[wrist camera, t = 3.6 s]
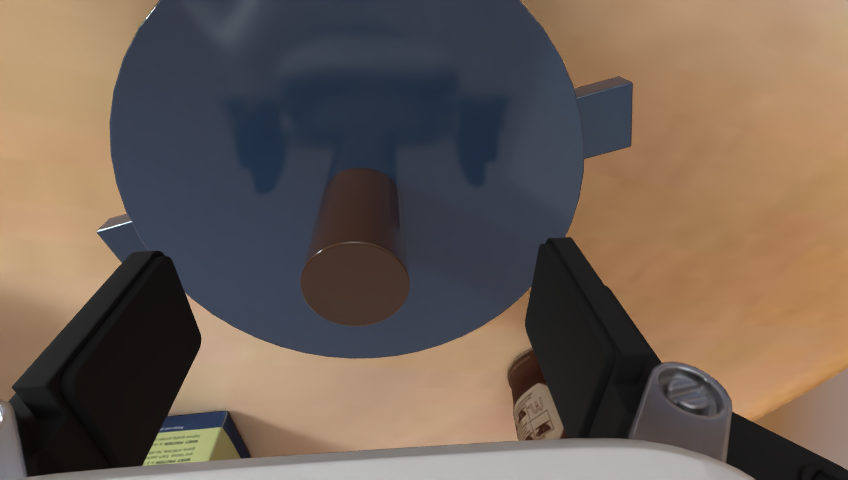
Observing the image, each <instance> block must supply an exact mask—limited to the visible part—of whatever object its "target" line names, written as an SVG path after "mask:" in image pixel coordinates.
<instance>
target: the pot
mask: <svg viewBox="0 0 848 480" xmlns="http://www.w3.org/2000/svg"><path fill="white" fill-rule="evenodd" d="M574 90H575V94H576V98H577V102H578V105H579V109H580V113H581V119H582V128H583V136H584V159H586V158H589V157H593V156H597V155H601V154H604V153H608V152H612V151H616V150H619V149H623V148H627V147H630V146H631V134H632V93H633V83H632V82H631V81H629V80H626V79H624V78H622V77H620V76H618V77H615V78H611V79H607V80H604V81H600V82H597V83H593V84H590V85H586V86H582V87H579V88H575V89H574ZM97 234H98V235H99V236H100V237H101V238H102V240H103V241H104V242H105V243H106V244H107V246H108V247H109V248H110V249H111V250H112V252H113V253H114V254H115V255H116V256H117V258H118V259H119V260H120V261H121V263H123V262H124V261H125V259H126V258H127V257H128V256H129V255H130V254H131V253H132V252H136V251H148V249H147V248H146V247H145V245H144V244H143V242H142V241H141V239H140V238H139V236H138V234H137V232H136V230H135V228H134V226H133V224H132V222H131V220H130V218H129V216H128V214H124V215H121V216H117V217H114V218H110V219H109V220H108V221H107V222H106V223H105V224H103V225H102V226H101V227H100V228H99V229H98V230H97Z"/></svg>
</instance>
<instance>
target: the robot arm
mask: <svg viewBox="0 0 848 480" xmlns="http://www.w3.org/2000/svg"><path fill="white" fill-rule="evenodd" d="M525 327H526V332H527V335H528V337H529V340H530V342H531V345H532V348H533V350H534V353H535V355H536V358H537V360H538V363H539V366H540V368H541V371H542V373H543V376H544V378H545V381H546V384H547V386H548V389H549V391H550V394H551V396H552V399H553V402H554V404H555V407H556V409H557V412H558V414H559V417H560V420H561V422H562V425H563V427H564V430H565V433H566V435H567V438H568V439H549V440H527V441H506V442H490V443H473V444H457V445H441V446H425V447H408V448H393V449H377V450H362V451H347V452H332V453H317V454H302V455H288V456H273V457H258V458H244V459H230V460H217V461H203V462H189V463H175V464H161V465H147V466H142V465H143V463H144V461H145V459H146V457H147V455H148V453H149V451H150V449H151V447H152V445H153V443H154V441H155V439H156V437H157V435H158V433H159V431H160V428H161V426H162V424H163V422H164V420H165V418H166V416H167V414H168V412H169V410H170V408H171V406H172V404H173V402H174V400H175V398H176V396H177V394H178V392H179V390H180V388H181V386H182V383H183V381H184V379H185V377H186V375H187V373H188V371H189V369H190V367H191V365H192V363H193V361H194V359H195V357H196V355H197V353H198V351H199V348H200V345H201V334H200V331H199V329H198V326H197V323H196V321H195V318H194V315H193V313H192V310H191V308H190V305H189V302H188V300H187V297H186V294H185V292H184V289H183V287H182V284H181V281H180V279H179V276H178V273H177V271H176V268H175V266H174V263H173V261H172V259H171V258H170V257H168V256H165V255H164V254H163V253H162V252H161V251H136V252H132V253H131V254H130V255H129V256H128V257H127V258H126V259H125V261H124V262H123V263H122V264H121V265H120V266H119V267H118V268H117V269H116V271H115V272H114V273H113V274H112V275H111V276H110V277H109V278H108V280H107V281H106V282H105V283H104V284H103V285H102V286H101V287H100V289H99V290H98V291H97V292H96V293H95V294H94V295H93V296H92V297H91V299H90V300H89V301H88V302H87V303H86V304H85V305H84V306H83V308H82V309H81V310H80V311H79V312H78V313H77V314H76V315H75V317H74V318H73V319H72V320H71V321H70V322H69V323H68V324H67V325H66V327H65V328H64V329H63V330H62V331H61V332H60V333H59V334H58V336H57V337H56V338H55V339H54V340H53V341H52V342H51V343H50V345H49V346H48V347H47V348H46V349H45V350H44V351H43V352H42V353H41V355H40V356H39V357H38V358H37V359H36V360H35V361H34V362H33V364H32V365H31V366H30V367H29V368H28V369H27V370H26V371H25V373H24V374H23V375H22V376H21V377H20V378H19V379H18V380H17V381H16V383H15V384H14V385H13V386H12V388H13V390H14V391H15V392H16V393H15V395H14V396H13V397H12V398H11V399H10V400H9V402H7V401H4V400H2V399H0V480H848V471H847V470H846V469H844V468H843V467H841V466H839V465H837V464H835V463H833V462H831V461H829V460H827V459H825V458H823V457H821V456H819V455H817V454H815V453H813V452H811V451H809V450H807V449H805V448H803V447H801V446H799V445H797V444H795V443H793V442H791V441H789V440H787V439H785V438H783V437H781V436H779V435H777V434H775V433H773V432H771V431H769V430H767V429H765V428H763V427H761V426H759V425H757V424H755V423H753V422H751V421H749V420H748V419H746V418H744V417H742V416H740V415H738V414H736V413H734V412H732V403H731V399H730V397H729V395H728V393H727V392H726V390H725V389H724V388H723V387H722V386H721V385H720V383H719V382H718V381H717V380H715V379H714V378H713V377H711V376H710V375H709V374H707V373H705V372H704V371H702V370H700V369H698V368H696V367H693V366H690V365H687V364H684V363H678V362H665V363H661V361H660V360H659V358H658V357H657V355H656V354H655V353H654V351H653V350H652V348H651V347H650V345H649V344H648V343H647V341H646V340H645V338H644V337H643V335H642V334H641V333H640V331H639V330H638V328H637V327H636V325H635V324H634V323H633V321H632V320H631V318H630V317H629V316H628V314H627V313H626V311H625V310H624V308H623V307H622V306H621V304H620V303H619V301H618V300H617V298H616V297H615V296H614V294H613V293H612V291H611V290H610V289H609V288H608V287H607V286H605V285H604V284H603V282H602V281H601V280H600V278H599V277H598V275H597V274H596V272H595V271H594V269H593V268H592V267H591V265H590V264H589V262H588V261H587V259H586V258H585V256H584V255H583V254H582V252H581V251H580V249H579V248H578V246H577V245H576V243H575V242H574V241H573V239H572V238H569V237H565V238H548V239H547V241H546V243H545V244H540V246H539V250H538V255H537V260H536V266H535V271H534V276H533V281H532V287H531V292H530V297H529V303H528V308H527V313H526V318H525Z"/></svg>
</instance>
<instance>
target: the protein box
mask: <svg viewBox="0 0 848 480" xmlns="http://www.w3.org/2000/svg"><path fill="white" fill-rule="evenodd" d="M244 458H251V457H250V455H249V453H248V451H247V449H246V447H245V445H244V443H243V441H242V439H241V437H240V435H239V433H238V431H237V429H236V427H235V425H234V423H233V421H232V419H231V417H230V415H229V413H228V411H220V412H209V413H199V414H189V415H179V416H169V417H166V418H165V420H164V422H163V424H162V426H161V428H160V431H159V433H158V435H157V437H156V439H155V441H154V443H153V445H152V447H151V449H150V451H149V453H148V455H147V457H146V459H145V461H144V463H143V465H142V466H147V465H161V464H175V463H189V462H203V461H217V460H230V459H244Z"/></svg>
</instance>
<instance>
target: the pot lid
mask: <svg viewBox="0 0 848 480" xmlns="http://www.w3.org/2000/svg"><path fill="white" fill-rule="evenodd" d="M110 147H111V158H112V163H113V168H114V173H115V178H116V184H117V187H118V189H119V192H120V195H121V198H122V201H123V204H124V207H125V210H126V212H127V214H128V216H129V218H130V220H131V222H132V224H133V226H134V228H135V230H136V232H137V234H138V236H139V238H140V239H141V241H142V242H143V244H144V245H145V247H146V248H147V249H148V251H161V252H162V253H163V254H164V255H165V256H168V257H170V258H171V259H172V261H173V263H174V266H175V268H176V271H177V273H178V276H179V279H180V281H181V284H182V287H183V289H184V292H185V293H186V294H187V295H188V296H190V297H191V298H192V299H193V300H194V301H196V302H197V303H198V304H200V305H201V306H202V307H204V308H205V309H206V310H208V311H209V312H210V313H212V314H213V315H215V316H216V317H218V318H220V319H221V320H223V321H225V322H226V323H228V324H230V325H231V326H233V327H235V328H237V329H239V330H241V331H243V332H245V333H247V334H250V335H252V336H254V337H256V338H258V339H261V340H264V341H266V342H269V343H272V344H275V345H277V346H280V347H284V348H288V349H292V350H295V351H299V352H303V353H308V354H314V355H320V356H326V357H338V358H380V357H390V356H398V355H403V354H408V353H413V352H418V351H422V350H425V349H429V348H432V347H436V346H439V345H442V344H444V343H447V342H449V341H452V340H454V339H457V338H459V337H462V336H464V335H466V334H468V333H470V332H472V331H473V330H475V329H477V328H479V327H481V326H483V325H484V324H486V323H487V322H489V321H491V320H492V319H494V318H495V317H497V316H498V315H500V314H501V313H502V312H504V311H505V310H506V309H507V308H509V307H510V306H511V305H512V304H513V303H515V302H516V301H517V300H518V299H519V298H520V297H521V296H522V295H523V294H524V293H525V292H526V291H527V290H528V289H529V288H530V287H531V286H532V281H533V276H534V271H535V266H536V260H537V255H538V250H539V246H540V244H545V243H546V241H547V239H548V238H565V236H566V234H567V231H568V229H569V227H570V225H571V223H572V220H573V216H574V213H575V210H576V207H577V203H578V200H579V196H580V190H581V184H582V178H583V172H584V136H583V128H582V119H581V113H580V109H579V105H578V102H577V98H576V94H575V90H574V86H573V84H572V82H571V79H570V77H569V75H568V72H567V70H566V68H565V65H564V63H563V61H562V58H561V56H560V54H559V53H558V51H557V50H556V48H555V46H554V45H553V43H552V42H551V40H550V38H549V37H548V35H547V33H546V32H545V30H544V29H543V27H542V26H541V25H540V24H539V22H538V21H537V20H536V19H535V18H534V17H533V15H532V14H531V13H530V12H529V11H528V9H527V8H526V7H525V6H524V5H523V4H522V2H521V1H520V0H159V1H158V3H157V4H156V5H155V7H154V8H153V9H152V11H151V12H150V13H149V15H148V16H147V17H146V19H145V20H144V21H143V22H142V24H141V25H140V26H139V28H138V30H137V32H136V34H135V36H134V38H133V40H132V42H131V44H130V46H129V48H128V50H127V52H126V54H125V56H124V58H123V61H122V64H121V68H120V71H119V74H118V78H117V81H116V84H115V87H114V92H113V100H112V108H111V116H110Z"/></svg>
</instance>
